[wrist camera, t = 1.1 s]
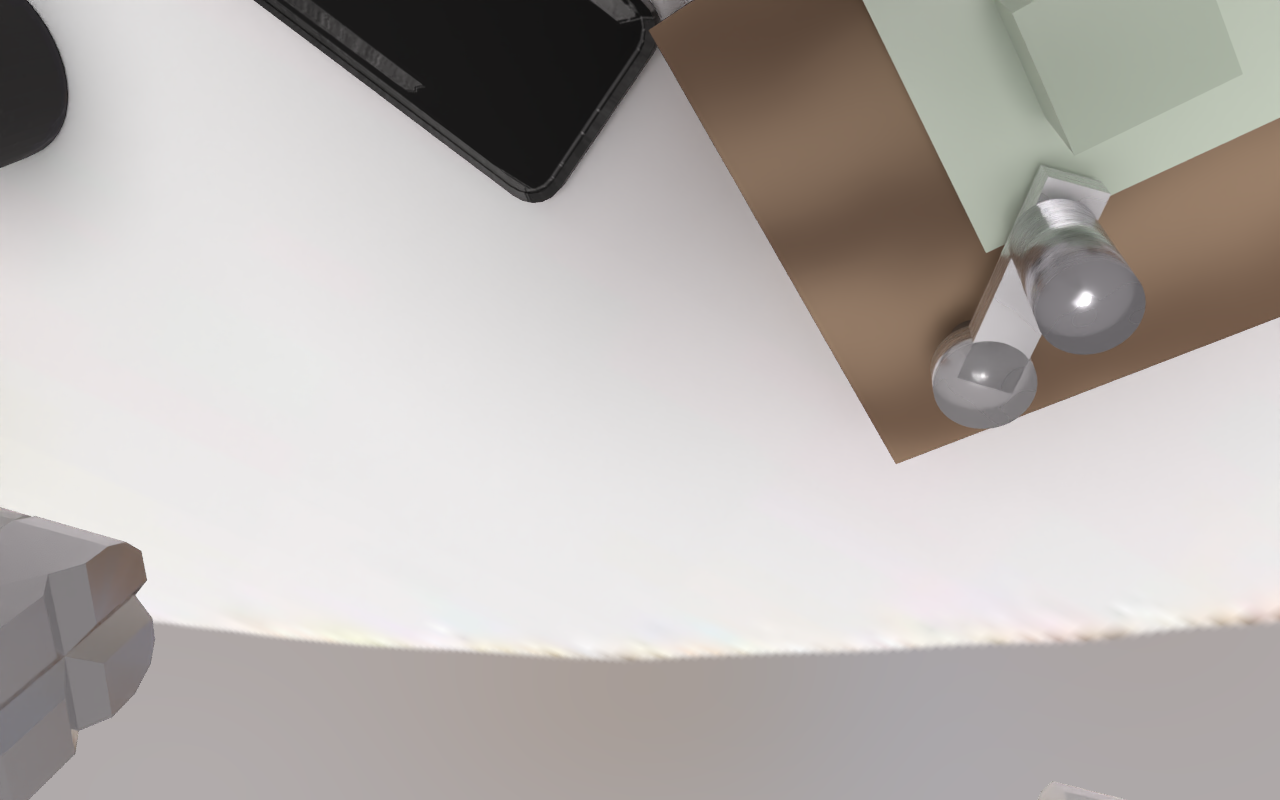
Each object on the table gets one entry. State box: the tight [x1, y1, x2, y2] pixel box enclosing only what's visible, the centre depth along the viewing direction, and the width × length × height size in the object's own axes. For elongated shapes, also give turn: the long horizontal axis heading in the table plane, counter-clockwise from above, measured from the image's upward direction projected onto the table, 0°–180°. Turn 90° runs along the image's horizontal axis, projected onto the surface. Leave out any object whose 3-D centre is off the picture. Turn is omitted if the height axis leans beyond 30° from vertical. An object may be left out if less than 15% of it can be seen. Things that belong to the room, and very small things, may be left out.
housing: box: [649, 0, 1280, 464], centre depth 26 cm, size 16×20×4 cm
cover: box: [863, 0, 1280, 253], centre depth 22 cm, size 9×9×5 cm
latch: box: [931, 165, 1146, 429], centre depth 24 cm, size 7×3×6 cm, turn 167°
